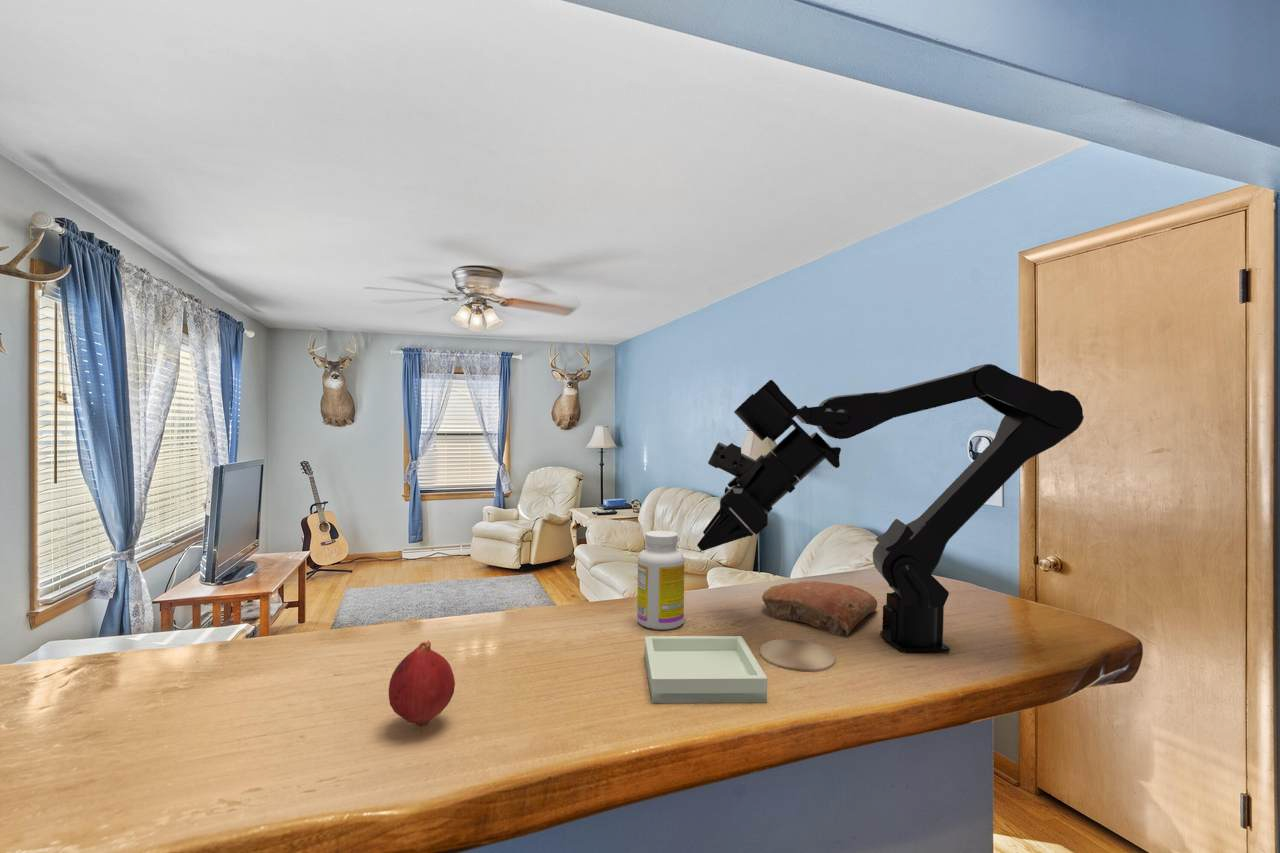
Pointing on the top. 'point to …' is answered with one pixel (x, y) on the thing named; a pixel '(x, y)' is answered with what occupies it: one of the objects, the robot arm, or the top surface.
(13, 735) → the top surface
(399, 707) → the onion
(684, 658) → the tray
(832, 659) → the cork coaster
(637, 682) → the top surface
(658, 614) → the supplement bottle
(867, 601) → the ceramic shard
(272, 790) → the top surface
